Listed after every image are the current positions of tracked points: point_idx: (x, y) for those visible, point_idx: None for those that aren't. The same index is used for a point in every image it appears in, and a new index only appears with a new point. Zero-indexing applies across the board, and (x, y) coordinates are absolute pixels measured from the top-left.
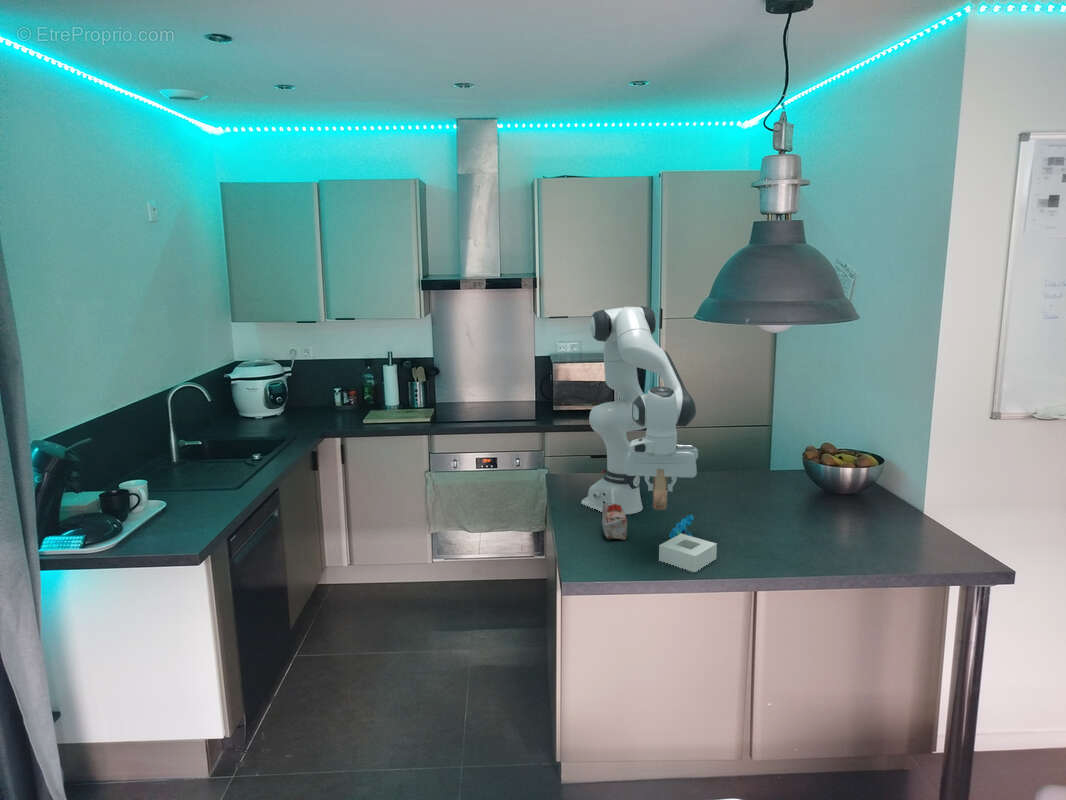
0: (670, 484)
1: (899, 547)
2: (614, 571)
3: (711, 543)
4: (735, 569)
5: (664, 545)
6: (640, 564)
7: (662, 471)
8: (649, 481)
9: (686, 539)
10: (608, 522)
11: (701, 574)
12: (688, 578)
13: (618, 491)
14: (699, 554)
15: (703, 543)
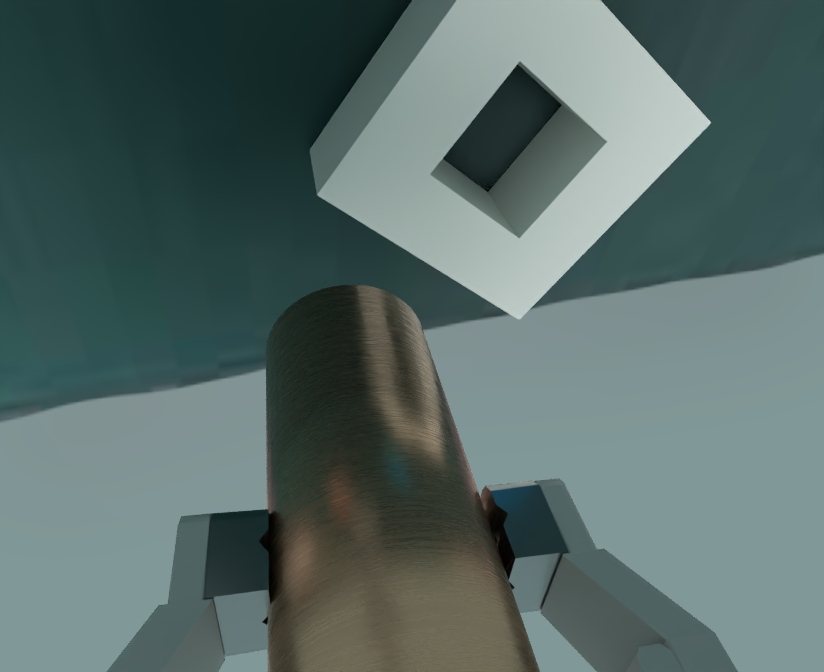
0: (558, 591)
1: None
2: (62, 312)
3: (678, 124)
4: (694, 204)
5: (354, 196)
6: (197, 207)
7: None
8: (185, 641)
9: (531, 61)
10: None
11: None
12: (448, 324)
13: None
14: (548, 286)
15: (626, 130)
